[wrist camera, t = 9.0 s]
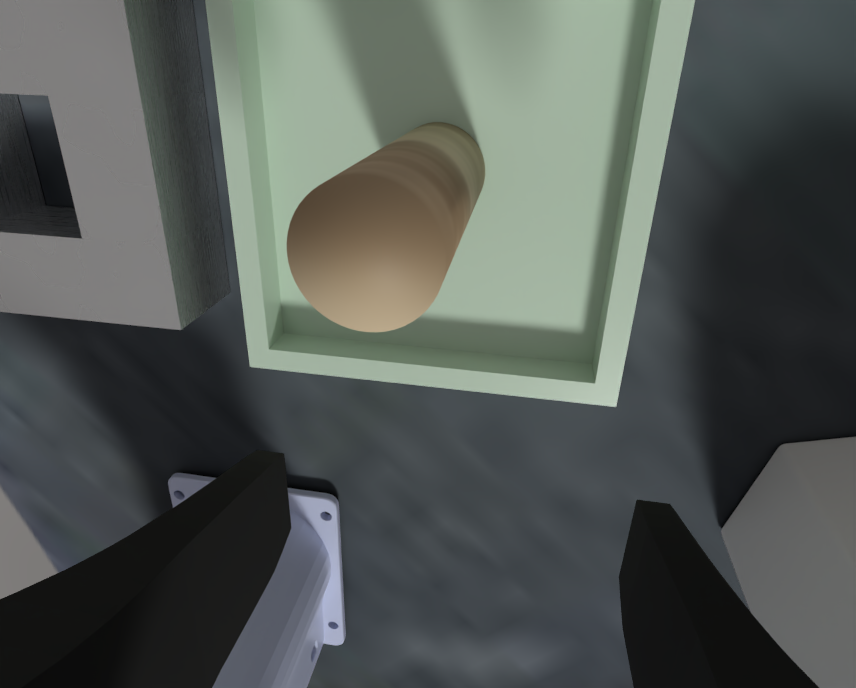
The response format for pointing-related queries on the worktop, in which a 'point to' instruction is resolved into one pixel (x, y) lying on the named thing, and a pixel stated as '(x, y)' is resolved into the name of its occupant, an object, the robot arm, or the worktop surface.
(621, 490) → the worktop surface
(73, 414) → the worktop surface
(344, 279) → the pin
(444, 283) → the tray
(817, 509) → the jar
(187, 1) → the socket block
